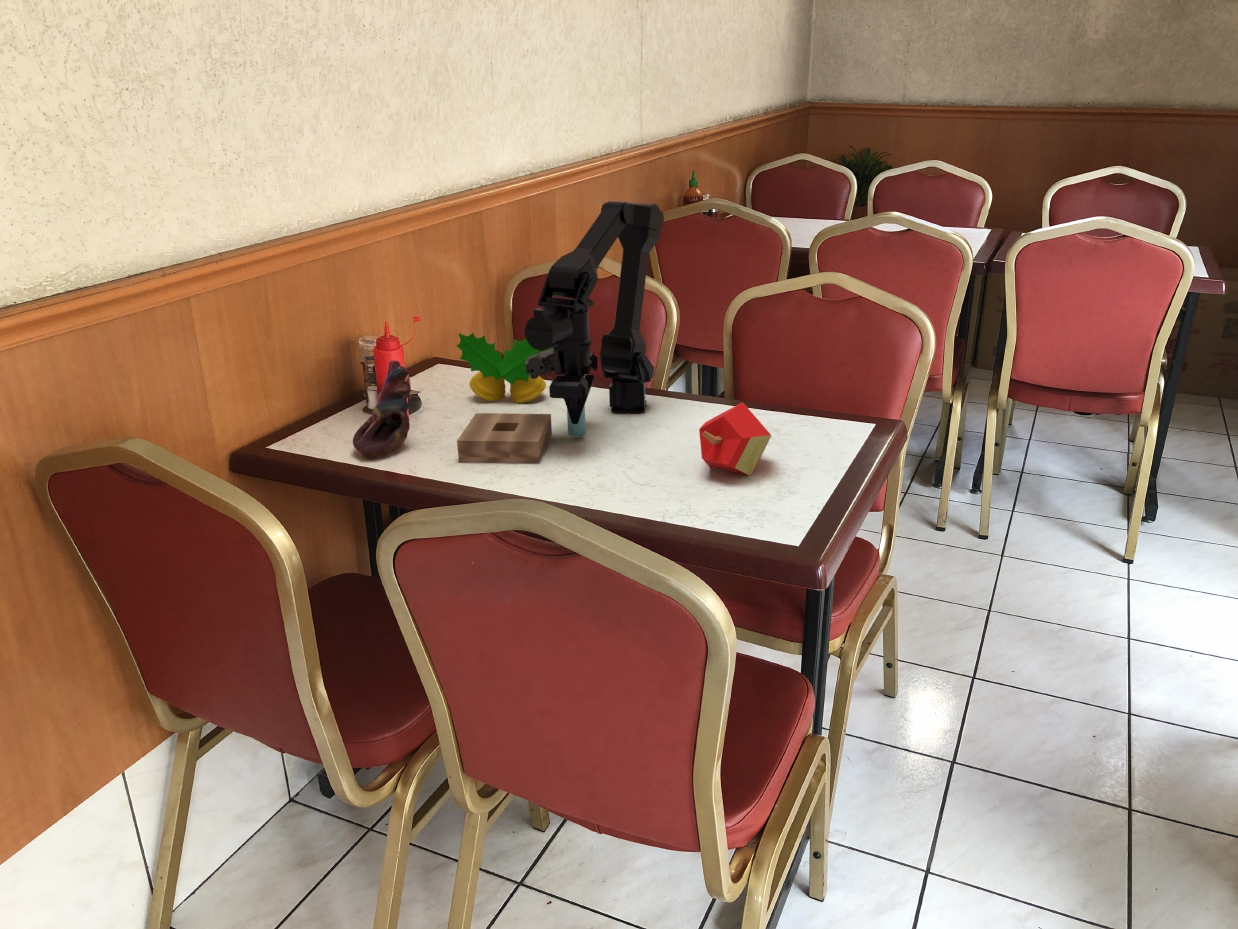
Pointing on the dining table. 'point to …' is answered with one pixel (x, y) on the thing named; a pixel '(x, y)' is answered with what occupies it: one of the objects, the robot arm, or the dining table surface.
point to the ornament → (500, 369)
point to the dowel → (577, 425)
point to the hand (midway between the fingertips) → (576, 420)
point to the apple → (733, 440)
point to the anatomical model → (386, 417)
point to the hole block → (505, 438)
